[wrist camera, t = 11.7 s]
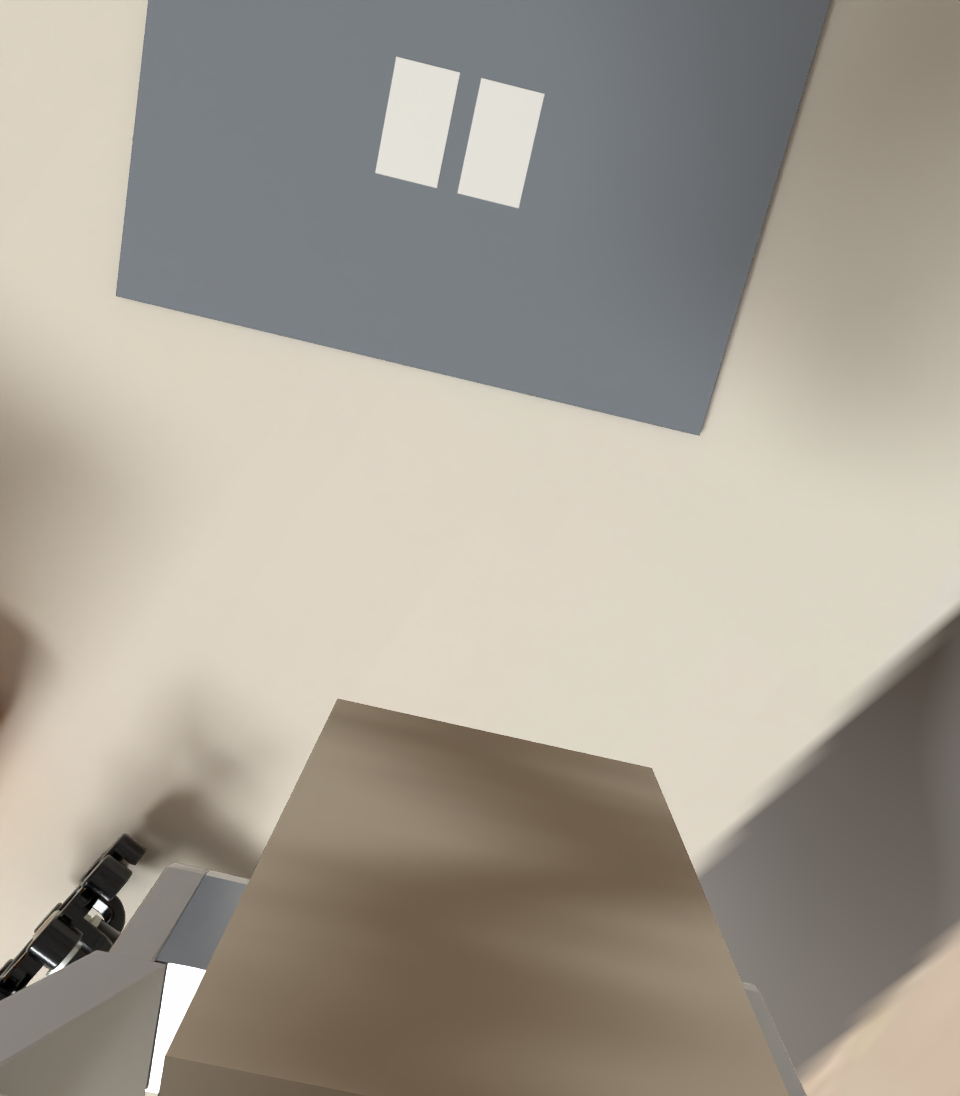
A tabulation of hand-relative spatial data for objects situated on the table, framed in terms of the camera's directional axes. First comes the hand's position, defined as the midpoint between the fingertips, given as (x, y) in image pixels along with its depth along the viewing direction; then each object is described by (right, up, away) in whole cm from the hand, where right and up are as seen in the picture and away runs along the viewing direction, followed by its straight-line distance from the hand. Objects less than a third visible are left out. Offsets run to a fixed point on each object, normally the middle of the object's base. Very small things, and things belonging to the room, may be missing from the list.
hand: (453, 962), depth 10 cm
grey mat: (0, +17, +11) cm, 20 cm away
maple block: (0, 0, +2) cm, 2 cm away
